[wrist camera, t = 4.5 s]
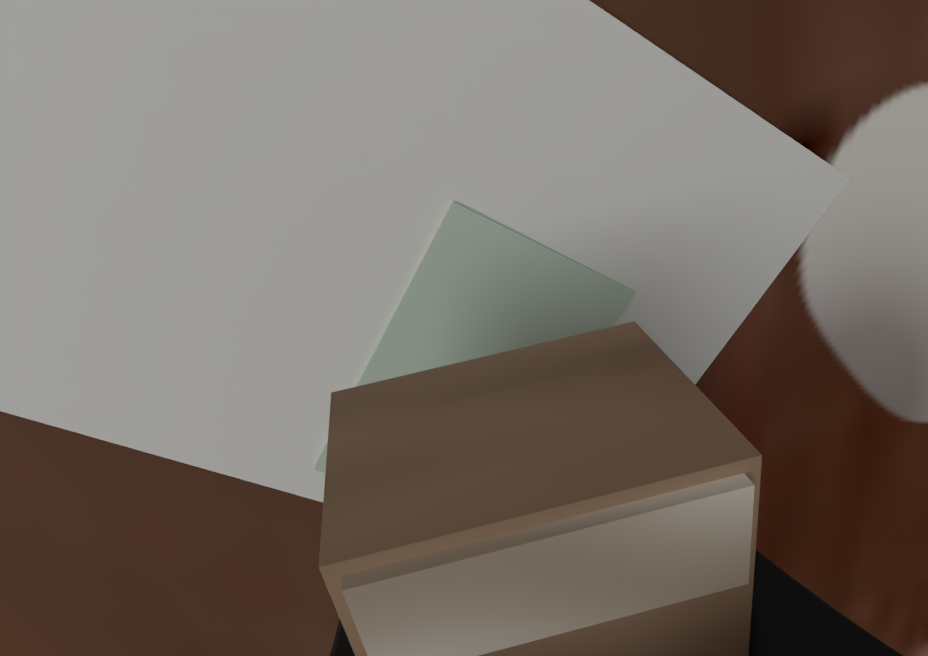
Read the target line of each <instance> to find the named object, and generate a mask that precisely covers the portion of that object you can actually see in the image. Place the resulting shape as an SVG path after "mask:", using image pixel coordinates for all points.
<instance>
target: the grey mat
mask: <svg viewBox="0 0 928 656" xmlns="http://www.w3.org/2000/svg"><path fill="white" fill-rule="evenodd" d="M849 180H850V178H849V177H847V176H846V175H844V174H843V173H842V172H840V171H839V170H837V169H836V168H834V167H833V166H831V165H830V164H828V163H827V162H825V161H824V160H822V159H821V158H820V157H818V156H817V155H815V154H814V153H812V152H811V151H809V150H808V149H806V148H805V147H803V146H802V145H801V144H799V143H798V142H796V141H795V140H793V139H792V138H790V137H789V136H787V135H786V134H784V133H783V132H781V131H780V130H779V129H777V128H776V127H774V126H773V125H771V124H770V123H768V122H767V121H765V120H764V119H762V118H761V117H759V116H758V115H757V114H755V113H754V112H752V111H751V110H749V109H748V108H746V107H745V106H743V105H742V104H740V103H739V102H737V101H736V100H735V99H733V98H732V97H730V96H729V95H727V94H726V93H724V92H723V91H721V90H720V89H718V88H717V87H715V86H714V85H713V84H711V83H710V82H708V81H707V80H705V79H704V78H702V77H701V76H699V75H698V74H696V73H695V72H694V71H692V70H691V69H689V68H688V67H686V66H685V65H683V64H682V63H680V62H679V61H677V60H676V59H674V58H673V57H672V56H670V55H669V54H667V53H666V52H664V51H663V50H661V49H660V48H658V47H657V46H655V45H654V44H652V43H651V42H650V41H648V40H647V39H645V38H644V37H642V36H641V35H639V34H638V33H636V32H635V31H633V30H632V29H630V28H629V27H628V26H626V25H625V24H623V23H622V22H620V21H619V20H617V19H616V18H614V17H613V16H611V15H610V14H609V13H607V12H606V11H604V10H603V9H601V8H600V7H598V6H597V5H595V4H594V3H592V2H591V1H589V0H0V411H2V412H6V413H9V414H13V415H16V416H20V417H23V418H27V419H30V420H34V421H37V422H41V423H44V424H48V425H52V426H55V427H59V428H62V429H66V430H69V431H73V432H76V433H80V434H83V435H87V436H90V437H94V438H97V439H101V440H104V441H108V442H112V443H115V444H119V445H122V446H126V447H129V448H133V449H136V450H140V451H143V452H147V453H150V454H154V455H157V456H161V457H165V458H168V459H172V460H175V461H179V462H182V463H186V464H189V465H193V466H196V467H200V468H203V469H207V470H210V471H214V472H218V473H221V474H225V475H228V476H232V477H235V478H239V479H242V480H246V481H249V482H253V483H256V484H260V485H263V486H267V487H270V488H274V489H278V490H281V491H285V492H288V493H292V494H295V495H299V496H302V497H306V498H309V499H313V500H316V501H320V502H323V500H324V486H325V472H326V458H327V444H328V430H329V417H330V403H331V392H336V391H340V390H344V389H348V388H353V387H357V386H361V385H365V384H370V383H374V382H378V381H382V380H387V379H391V378H395V377H399V376H404V375H408V374H412V373H416V372H421V371H425V370H429V369H433V368H437V367H442V366H446V365H450V364H454V363H459V362H463V361H467V360H471V359H476V358H480V357H484V356H488V355H493V354H497V353H501V352H505V351H510V350H514V349H518V348H522V347H527V346H531V345H535V344H539V343H544V342H548V341H552V340H556V339H561V338H565V337H569V336H573V335H578V334H582V333H586V332H590V331H595V330H599V329H603V328H607V327H612V326H616V325H620V324H624V323H629V322H633V321H635V322H636V323H637V324H638V325H639V326H640V327H641V329H642V330H643V331H644V332H645V333H646V334H647V335H648V336H649V337H650V338H651V339H652V340H653V341H654V342H655V343H656V344H657V345H658V346H659V347H660V348H661V350H662V351H663V352H664V353H665V354H666V355H667V356H668V357H669V358H670V359H671V360H672V361H673V362H674V363H675V364H676V365H677V366H678V367H679V368H680V370H681V371H682V372H683V373H684V374H685V375H686V376H687V377H688V378H689V379H690V380H691V381H692V382H693V383H694V384H696V383H697V382H698V380H699V379H700V378H701V376H702V375H703V374H704V372H705V371H706V370H707V368H708V367H709V366H710V364H711V363H712V362H713V360H714V359H715V358H716V356H717V355H718V354H719V352H720V351H721V350H722V349H723V347H724V346H725V345H726V343H727V342H728V341H729V339H730V338H731V337H732V335H733V334H734V333H735V331H736V330H737V329H738V327H739V326H740V325H741V323H742V322H743V321H744V319H745V318H746V317H747V315H748V314H749V313H750V311H751V310H752V309H753V307H754V306H755V305H756V303H757V302H758V301H759V299H760V298H761V297H762V295H763V294H764V293H765V291H766V290H767V289H768V287H769V286H770V285H771V283H772V282H773V281H774V279H775V278H776V277H777V275H778V274H779V273H780V271H781V270H782V269H783V267H784V266H785V265H786V263H787V262H788V261H789V259H790V258H791V257H792V255H793V254H794V253H795V251H796V250H797V249H798V248H799V246H800V245H801V244H802V242H803V241H804V240H805V238H806V237H807V236H808V234H809V233H810V232H811V230H812V229H813V228H814V226H815V225H816V224H817V222H818V221H819V220H820V218H821V217H822V215H823V214H824V213H825V212H826V210H827V209H828V207H829V206H830V205H831V204H832V202H833V201H834V200H835V198H836V197H837V196H838V194H839V193H840V192H841V190H842V189H843V188H844V186H845V185H846V184H847V182H848V181H849Z"/></svg>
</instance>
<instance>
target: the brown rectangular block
mask: <svg viewBox="0 0 928 656" xmlns="http://www.w3.org/2000/svg"><path fill="white" fill-rule="evenodd" d="M761 464H762V455H761V454H760V453H759V451H758V450H757V449H756V448H755V447H754V446H753V445H752V444H751V443H750V442H749V441H748V440H747V439H746V438H745V437H744V436H743V435H742V434H741V433H740V431H739V430H738V429H737V428H736V427H735V426H734V425H733V424H732V423H731V422H730V421H729V420H728V419H727V418H726V417H725V416H724V415H723V414H722V413H721V412H720V410H719V409H718V408H717V407H716V406H715V405H714V404H713V403H712V402H711V401H710V400H709V399H708V398H707V397H706V396H705V395H704V394H703V393H702V392H701V391H700V389H699V388H698V387H697V386H696V385H695V384H694V383H693V382H692V381H691V380H690V379H689V378H688V377H687V376H686V375H685V374H684V373H683V372H682V371H681V370H680V368H679V367H678V366H677V365H676V364H675V363H674V362H673V361H672V360H671V359H670V358H669V357H668V356H667V355H666V354H665V353H664V352H663V351H662V350H661V348H660V347H659V346H658V345H657V344H656V343H655V342H654V341H653V340H652V339H651V338H650V337H649V336H648V335H647V334H646V333H645V332H644V331H643V330H642V329H641V327H640V326H639V325H638V324H637V323H636V322H635V321H633V322H629V323H624V324H620V325H616V326H612V327H607V328H603V329H599V330H595V331H590V332H586V333H582V334H578V335H573V336H569V337H565V338H561V339H556V340H552V341H548V342H544V343H539V344H535V345H531V346H527V347H522V348H518V349H514V350H510V351H505V352H501V353H497V354H493V355H488V356H484V357H480V358H476V359H471V360H467V361H463V362H459V363H454V364H450V365H446V366H442V367H437V368H433V369H429V370H425V371H421V372H416V373H412V374H408V375H404V376H399V377H395V378H391V379H387V380H382V381H378V382H374V383H370V384H365V385H361V386H357V387H353V388H348V389H344V390H340V391H336V392H331V403H330V417H329V430H328V444H327V458H326V472H325V486H324V500H323V514H322V528H321V542H320V556H319V569H320V572H321V574H322V577H323V579H324V582H325V584H326V586H327V589H328V591H329V594H330V596H331V599H332V601H333V603H334V606H335V608H336V611H337V613H338V616H339V618H340V620H341V623H342V625H343V628H344V630H345V632H346V635H347V637H348V640H349V642H350V645H351V647H352V649H353V652H354V654H355V656H748V655H749V640H750V625H751V611H752V596H753V581H754V567H755V552H756V537H757V523H758V508H759V493H760V478H761Z"/></svg>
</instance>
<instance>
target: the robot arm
mask: <svg viewBox="0 0 928 656" xmlns="http://www.w3.org/2000/svg"><path fill="white" fill-rule="evenodd" d="M330 656H355V654H354V652H353V649H352V647H351V645H350V642H349V640H348V637H347V635H346V632H345V630H344V628H343V625H342V623H341V620H339V624H338V628H337V632H336V636H335V639H334V643H333V647H332V650H331V654H330ZM748 656H902V655H901V654H899V653H898V652H896V651H895V650H893V649H892V648H890V647H889V646H887V645H886V644H884V643H883V642H881V641H880V640H878V639H877V638H875V637H874V636H872V635H871V634H870V633H868V632H867V631H865V630H864V629H862V628H861V627H859V626H858V625H856V624H855V623H853V622H852V621H851V620H849V619H848V618H846V617H845V616H843V615H842V614H841V613H839V612H838V611H836V610H835V609H834V608H832V607H831V606H829V605H828V604H827V603H825V602H824V601H823V600H821V599H820V598H819V597H817V596H816V595H815V594H813V593H812V592H811V591H809V590H808V589H807V588H805V587H804V586H802V585H801V584H800V583H798V582H797V581H796V580H794V579H793V578H792V577H790V576H789V575H788V574H786V573H785V572H784V571H783V570H781V569H780V568H779V567H777V566H776V565H775V564H774V563H772V562H771V561H770V560H768V559H767V558H766V557H765V556H763V555H762V554H761V553H760V552H758V551H757V550H756V552H755V567H754V581H753V596H752V611H751V625H750V640H749V655H748Z"/></svg>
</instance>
